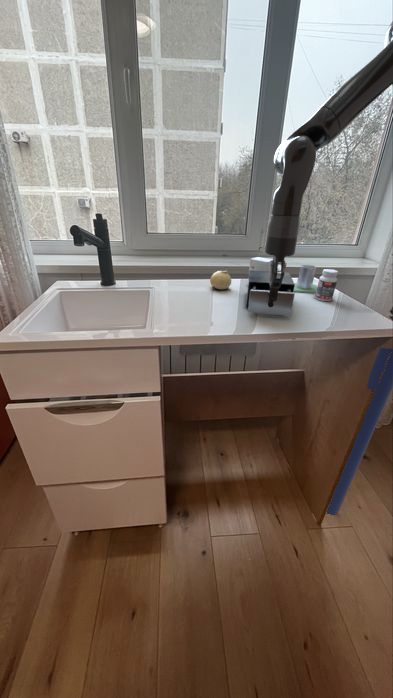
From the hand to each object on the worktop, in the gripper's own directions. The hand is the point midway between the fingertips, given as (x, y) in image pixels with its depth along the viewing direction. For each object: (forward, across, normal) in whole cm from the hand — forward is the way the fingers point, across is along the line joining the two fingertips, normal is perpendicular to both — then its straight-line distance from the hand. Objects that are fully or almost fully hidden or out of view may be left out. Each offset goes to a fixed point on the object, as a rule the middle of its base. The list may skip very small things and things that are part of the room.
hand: (272, 300), depth 81 cm
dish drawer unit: (+6, +15, 0) cm, 16 cm away
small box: (+6, +33, +2) cm, 34 cm away
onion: (+6, +27, +17) cm, 33 cm away
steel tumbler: (+5, +34, -15) cm, 38 cm away
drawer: (+5, +8, 0) cm, 9 cm away
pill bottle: (+6, +23, -20) cm, 31 cm away
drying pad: (+6, +34, -15) cm, 38 cm away
